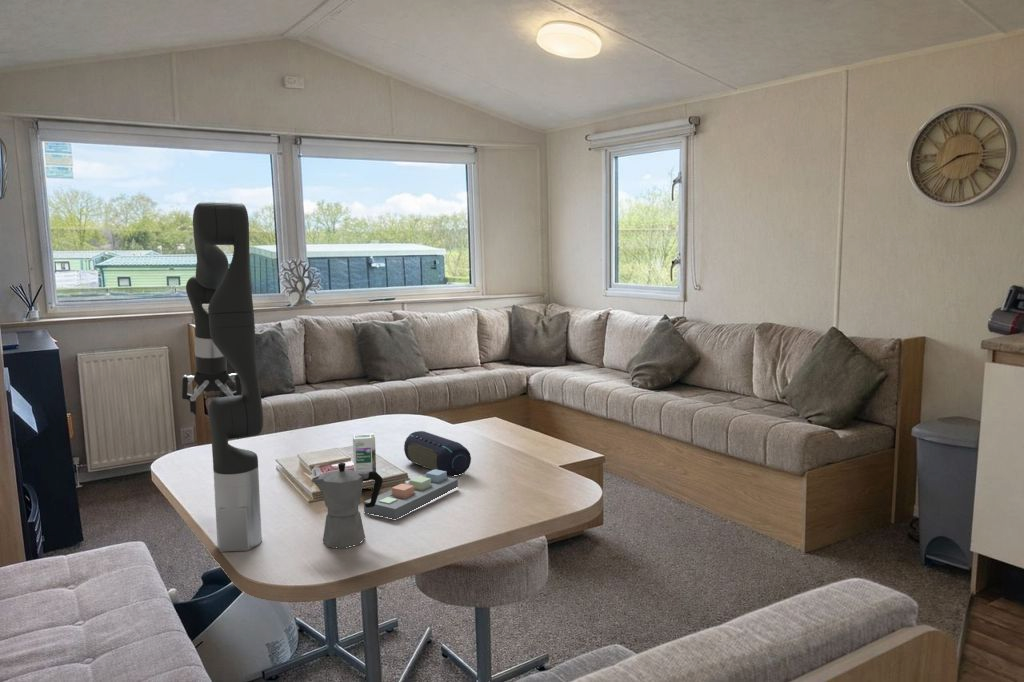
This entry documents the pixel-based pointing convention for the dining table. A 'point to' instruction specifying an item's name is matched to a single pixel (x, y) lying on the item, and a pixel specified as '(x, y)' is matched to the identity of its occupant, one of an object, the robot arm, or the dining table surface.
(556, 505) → the dining table surface
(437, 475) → the slate button
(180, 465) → the dining table surface
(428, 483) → the sage button
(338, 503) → the coffeepot
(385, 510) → the button panel
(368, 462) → the syrup box
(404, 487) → the terracotta button
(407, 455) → the portable speaker
